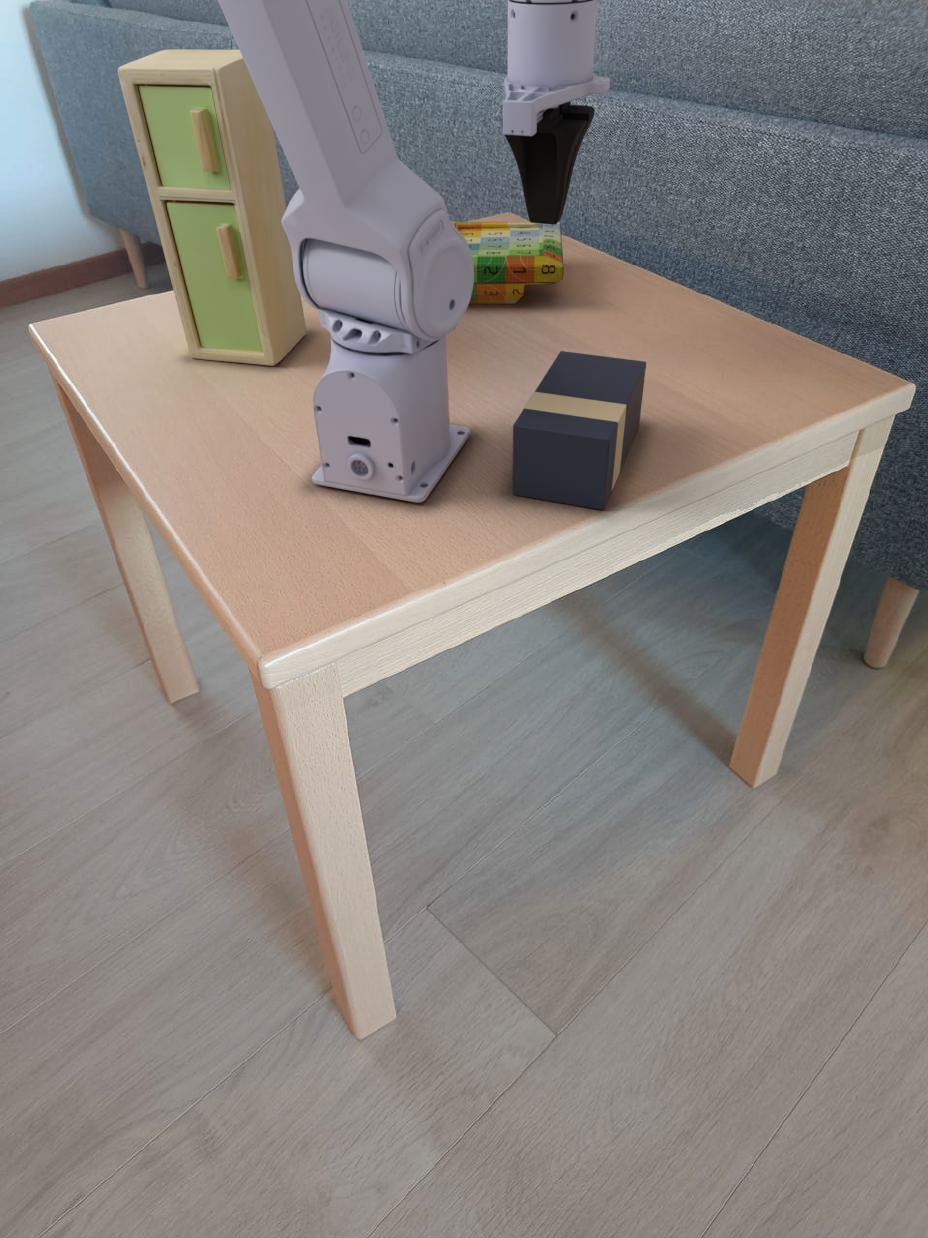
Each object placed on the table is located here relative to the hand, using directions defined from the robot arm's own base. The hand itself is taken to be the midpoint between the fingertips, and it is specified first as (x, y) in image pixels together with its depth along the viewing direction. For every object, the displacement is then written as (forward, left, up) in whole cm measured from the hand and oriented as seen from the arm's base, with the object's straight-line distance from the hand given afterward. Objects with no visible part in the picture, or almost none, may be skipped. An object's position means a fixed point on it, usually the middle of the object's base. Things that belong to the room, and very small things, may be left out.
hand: (545, 220), depth 66 cm
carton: (-10, -7, -8) cm, 14 cm away
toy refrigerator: (-6, +24, -11) cm, 27 cm away
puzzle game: (+12, +12, -11) cm, 20 cm away
